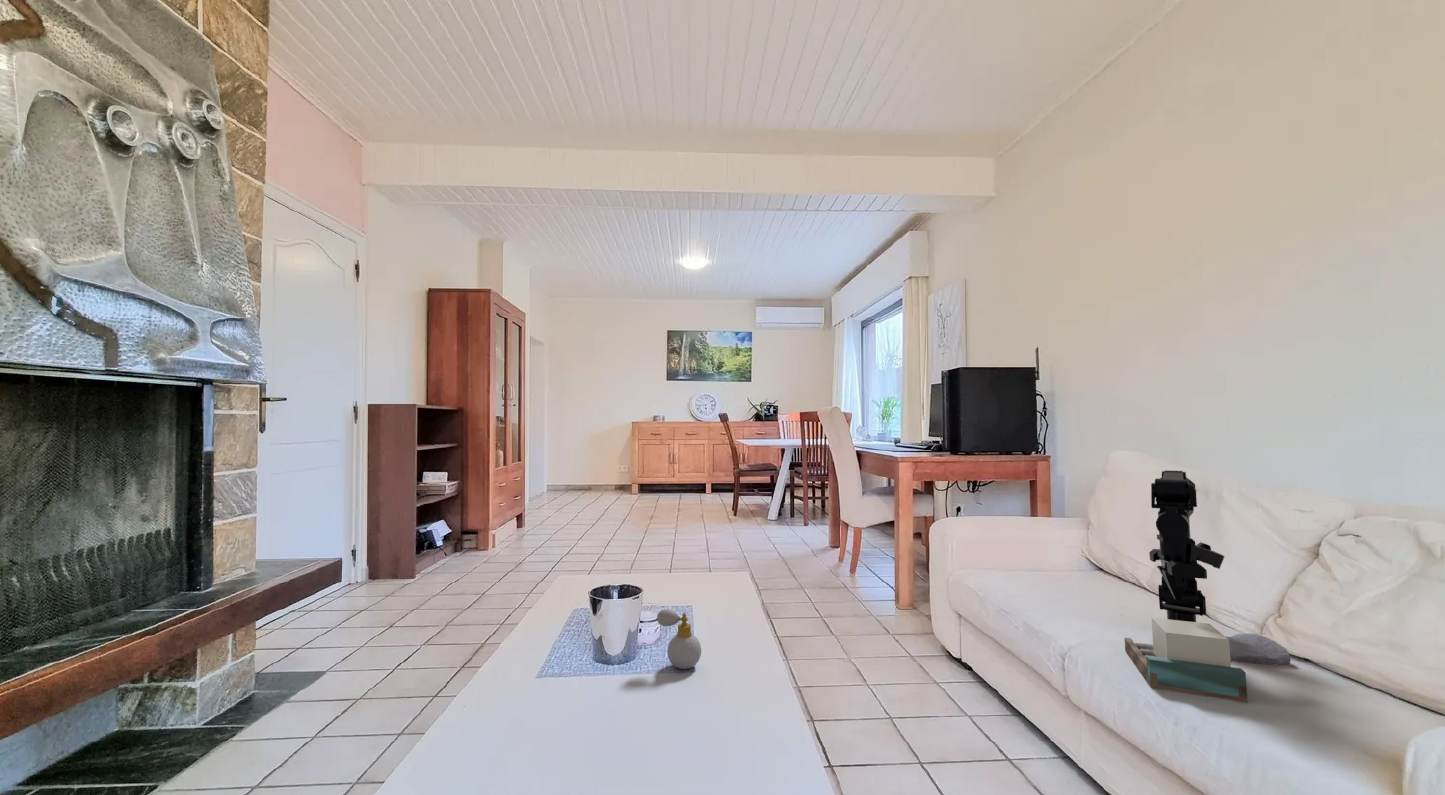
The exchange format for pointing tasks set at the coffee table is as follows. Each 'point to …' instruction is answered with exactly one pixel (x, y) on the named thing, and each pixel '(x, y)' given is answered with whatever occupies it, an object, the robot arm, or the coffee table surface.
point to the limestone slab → (1190, 642)
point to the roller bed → (1187, 674)
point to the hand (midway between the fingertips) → (1178, 600)
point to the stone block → (1257, 649)
